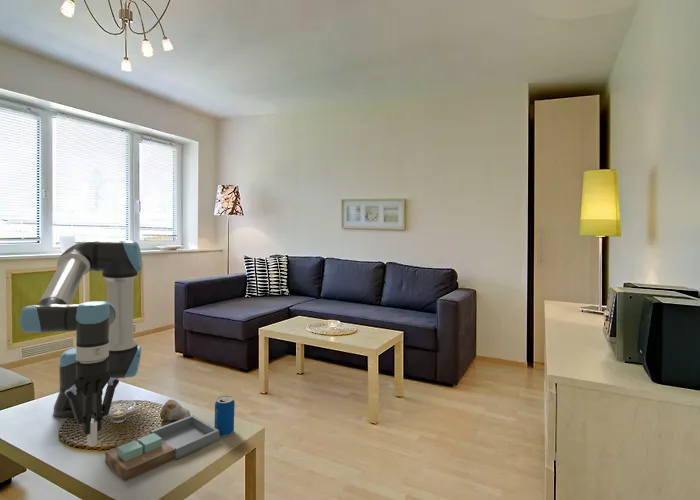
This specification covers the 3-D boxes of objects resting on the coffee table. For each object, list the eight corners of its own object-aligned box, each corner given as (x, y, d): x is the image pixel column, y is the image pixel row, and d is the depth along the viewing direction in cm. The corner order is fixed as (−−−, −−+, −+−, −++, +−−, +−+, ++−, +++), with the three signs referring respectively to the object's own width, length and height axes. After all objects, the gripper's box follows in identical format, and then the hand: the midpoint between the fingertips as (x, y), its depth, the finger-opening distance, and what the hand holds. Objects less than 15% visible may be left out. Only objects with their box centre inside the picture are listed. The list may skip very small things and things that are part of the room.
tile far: (137, 446, 122) (137, 439, 121) (153, 440, 126) (154, 432, 125) (145, 453, 119) (145, 445, 118) (161, 446, 123) (162, 438, 122)
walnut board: (105, 461, 119) (105, 451, 119) (152, 442, 130) (152, 433, 130) (126, 480, 110) (126, 470, 110) (174, 458, 121) (174, 449, 121)
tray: (150, 441, 130) (150, 430, 130) (192, 424, 142) (193, 414, 142) (176, 460, 121) (176, 449, 121) (219, 440, 133) (219, 430, 132)
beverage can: (210, 432, 137) (211, 398, 137) (227, 426, 142) (228, 393, 142) (220, 439, 133) (221, 405, 132) (237, 433, 138) (238, 399, 137)
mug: (187, 426, 142) (172, 403, 140) (166, 433, 144) (151, 411, 142) (197, 411, 149) (183, 390, 147) (177, 419, 151) (163, 398, 149)
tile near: (117, 455, 117) (117, 446, 117) (134, 448, 121) (135, 440, 121) (124, 461, 114) (125, 453, 114) (142, 454, 118) (142, 446, 118)
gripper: (69, 368, 100) (69, 459, 101) (124, 356, 111) (123, 439, 112) (59, 361, 105) (59, 448, 106) (112, 351, 115) (111, 430, 116)
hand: (92, 443), depth 109 cm, fingers closed
